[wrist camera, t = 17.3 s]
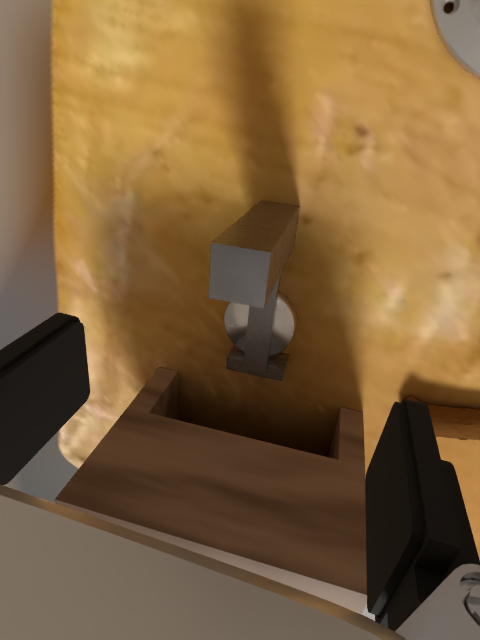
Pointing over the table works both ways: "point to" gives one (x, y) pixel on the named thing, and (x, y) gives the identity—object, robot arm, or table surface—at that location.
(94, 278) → the table surface
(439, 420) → the primitive tool
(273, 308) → the hoe
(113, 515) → the wooden bridge block
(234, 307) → the steel token
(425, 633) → the robot arm
